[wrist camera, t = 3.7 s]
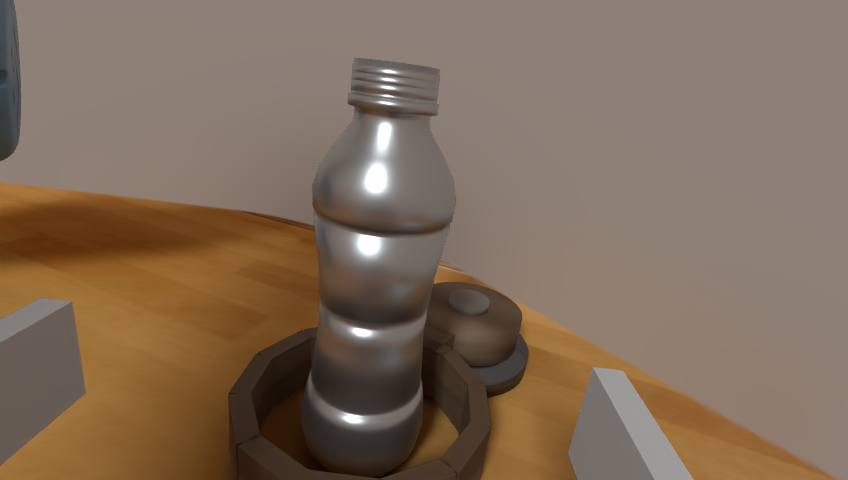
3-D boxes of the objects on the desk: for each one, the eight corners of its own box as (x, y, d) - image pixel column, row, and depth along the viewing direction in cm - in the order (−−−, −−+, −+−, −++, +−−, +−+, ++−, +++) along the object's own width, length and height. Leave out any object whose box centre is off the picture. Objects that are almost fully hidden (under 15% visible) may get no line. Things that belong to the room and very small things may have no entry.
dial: (418, 302, 41) (424, 258, 39) (557, 358, 34) (570, 310, 33) (176, 451, 22) (170, 380, 21) (383, 631, 16) (395, 547, 15)
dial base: (373, 333, 36) (375, 317, 35) (471, 313, 41) (473, 299, 40) (442, 414, 28) (446, 395, 27) (551, 376, 33) (556, 359, 33)
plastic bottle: (391, 397, 29) (431, 71, 22) (437, 480, 23) (509, 77, 17) (289, 417, 26) (300, 52, 19) (314, 519, 20) (341, 51, 14)
